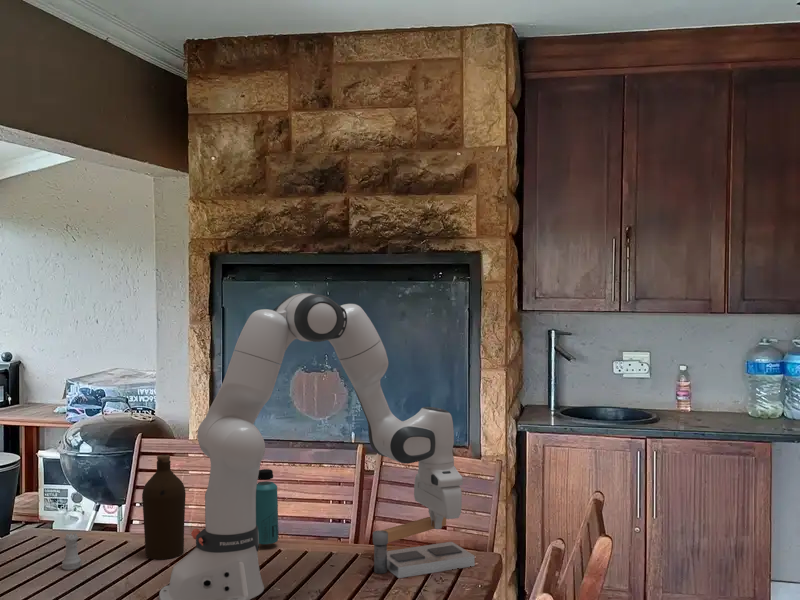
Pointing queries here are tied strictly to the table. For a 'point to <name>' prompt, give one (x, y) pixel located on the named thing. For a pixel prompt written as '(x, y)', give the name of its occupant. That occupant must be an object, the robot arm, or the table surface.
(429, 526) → the swing bar
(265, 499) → the beverage bottle
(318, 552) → the table surface
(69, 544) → the rook chess piece
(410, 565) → the block
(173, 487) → the olive oil
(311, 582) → the table surface
